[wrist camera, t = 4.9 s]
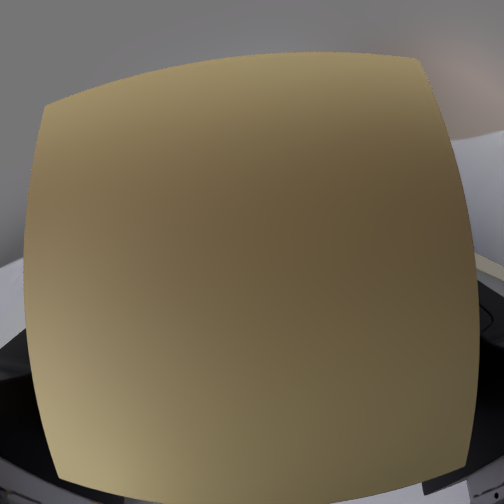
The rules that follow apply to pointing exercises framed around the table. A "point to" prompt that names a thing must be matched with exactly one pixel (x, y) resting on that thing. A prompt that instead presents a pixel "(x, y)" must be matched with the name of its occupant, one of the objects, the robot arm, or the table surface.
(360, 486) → the brown rectangular block
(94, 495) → the robot arm
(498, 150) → the table surface
